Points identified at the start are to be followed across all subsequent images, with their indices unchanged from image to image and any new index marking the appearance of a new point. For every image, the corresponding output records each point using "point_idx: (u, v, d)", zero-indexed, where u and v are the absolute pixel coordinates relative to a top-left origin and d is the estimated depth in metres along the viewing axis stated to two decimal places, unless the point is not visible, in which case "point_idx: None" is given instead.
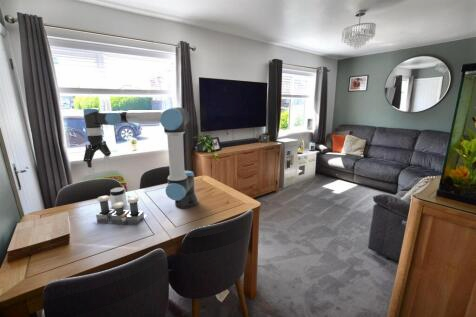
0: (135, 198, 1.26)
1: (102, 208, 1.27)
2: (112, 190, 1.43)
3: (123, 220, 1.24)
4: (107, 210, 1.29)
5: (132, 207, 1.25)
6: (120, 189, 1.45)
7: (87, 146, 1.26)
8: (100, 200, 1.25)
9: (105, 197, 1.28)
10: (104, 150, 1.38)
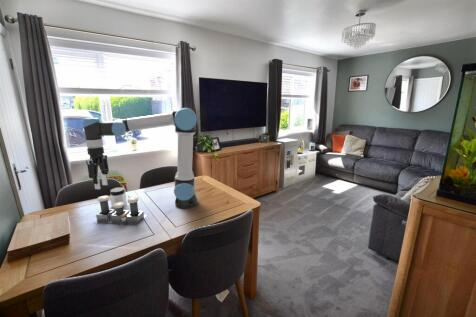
0: (135, 198, 1.26)
1: (102, 208, 1.27)
2: (112, 190, 1.43)
3: (123, 220, 1.24)
4: (107, 210, 1.29)
5: (132, 207, 1.25)
6: (120, 189, 1.45)
7: (88, 163, 1.16)
8: (100, 200, 1.25)
9: (105, 197, 1.28)
10: (103, 166, 1.25)
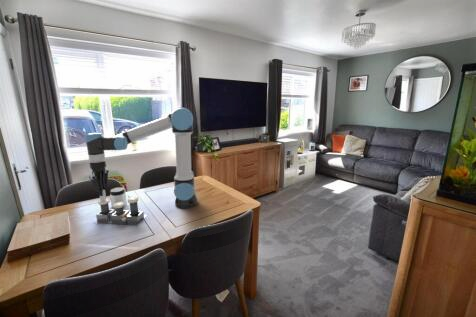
0: (135, 198, 1.26)
1: (103, 211, 1.28)
2: (112, 190, 1.43)
3: (123, 220, 1.24)
4: (107, 213, 1.29)
5: (132, 207, 1.25)
6: (120, 189, 1.45)
7: (91, 178, 1.18)
8: (101, 203, 1.25)
9: (106, 200, 1.28)
10: (103, 180, 1.26)
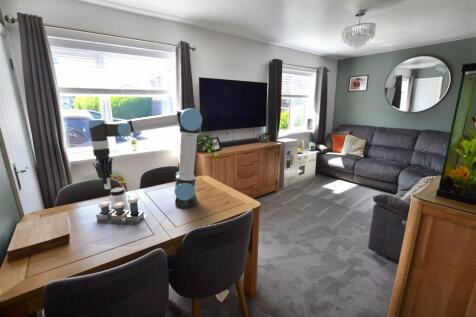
0: (135, 198, 1.26)
1: None
2: (112, 190, 1.43)
3: (123, 220, 1.24)
4: None
5: (132, 207, 1.25)
6: (120, 189, 1.45)
7: (95, 165, 1.16)
8: (101, 206, 1.26)
9: (106, 203, 1.28)
10: (107, 168, 1.24)
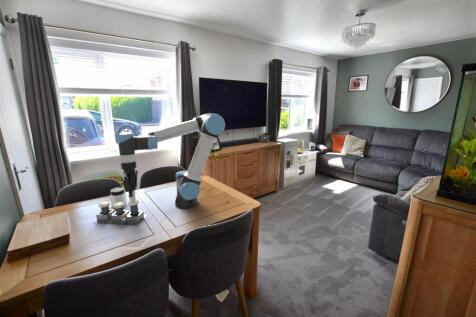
0: (135, 201, 1.27)
1: None
2: (112, 190, 1.43)
3: (123, 220, 1.24)
4: None
5: (132, 210, 1.25)
6: (120, 189, 1.45)
7: (123, 179, 1.17)
8: (101, 206, 1.26)
9: (106, 203, 1.28)
10: (133, 181, 1.24)
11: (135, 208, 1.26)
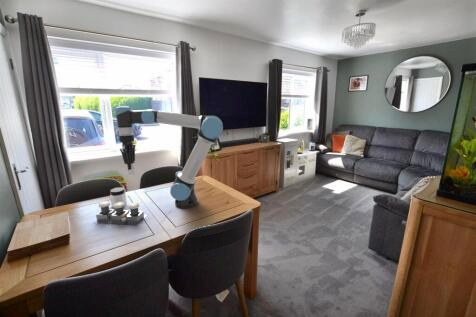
0: (136, 204, 1.27)
1: None
2: (112, 190, 1.43)
3: (123, 220, 1.24)
4: None
5: (133, 213, 1.26)
6: (120, 189, 1.45)
7: (122, 151, 1.21)
8: (101, 206, 1.26)
9: (106, 203, 1.28)
10: (132, 154, 1.29)
11: (135, 211, 1.26)
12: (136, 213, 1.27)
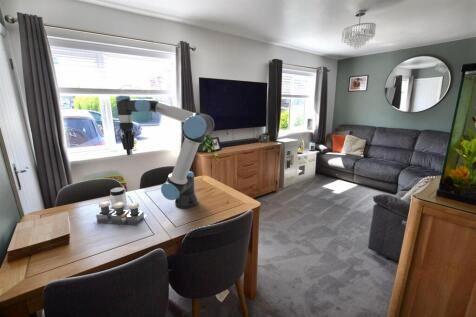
0: (136, 204, 1.27)
1: None
2: (112, 190, 1.43)
3: (123, 220, 1.24)
4: None
5: (133, 213, 1.26)
6: (120, 189, 1.45)
7: (121, 136, 1.30)
8: (101, 206, 1.26)
9: (106, 203, 1.28)
10: (131, 140, 1.38)
11: (135, 211, 1.26)
12: (136, 213, 1.27)
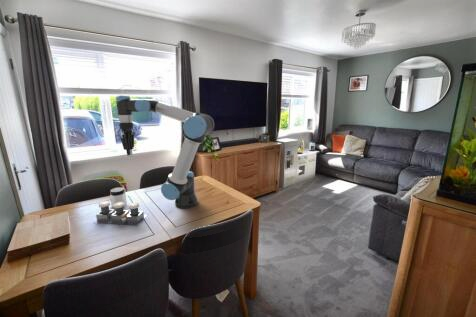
0: (136, 204, 1.27)
1: None
2: (112, 190, 1.43)
3: (123, 220, 1.24)
4: None
5: (133, 213, 1.26)
6: (120, 189, 1.45)
7: (121, 136, 1.30)
8: (101, 206, 1.26)
9: (106, 203, 1.28)
10: (131, 140, 1.38)
11: (135, 211, 1.26)
12: (136, 213, 1.27)
